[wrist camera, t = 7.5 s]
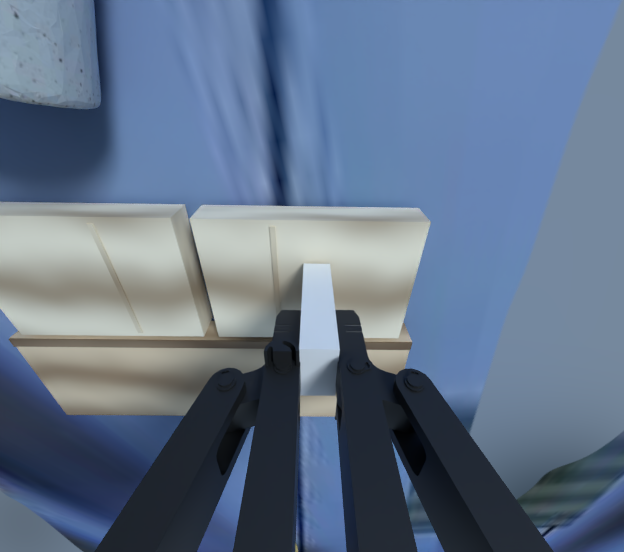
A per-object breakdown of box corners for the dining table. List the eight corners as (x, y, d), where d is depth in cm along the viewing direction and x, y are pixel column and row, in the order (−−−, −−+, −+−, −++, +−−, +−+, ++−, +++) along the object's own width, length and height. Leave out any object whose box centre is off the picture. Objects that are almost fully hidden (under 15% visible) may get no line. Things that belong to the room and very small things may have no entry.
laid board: (34, 318, 21) (8, 338, 19) (403, 322, 21) (412, 342, 20) (83, 394, 26) (66, 416, 24) (385, 396, 26) (391, 417, 24)
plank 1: (-36, 201, 16) (-78, 215, 14) (184, 204, 16) (169, 218, 14) (44, 315, 21) (20, 335, 19) (212, 316, 21) (203, 337, 19)
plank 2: (202, 204, 16) (188, 219, 14) (418, 207, 16) (431, 222, 14) (226, 316, 21) (218, 337, 19) (391, 318, 21) (398, 339, 19)
